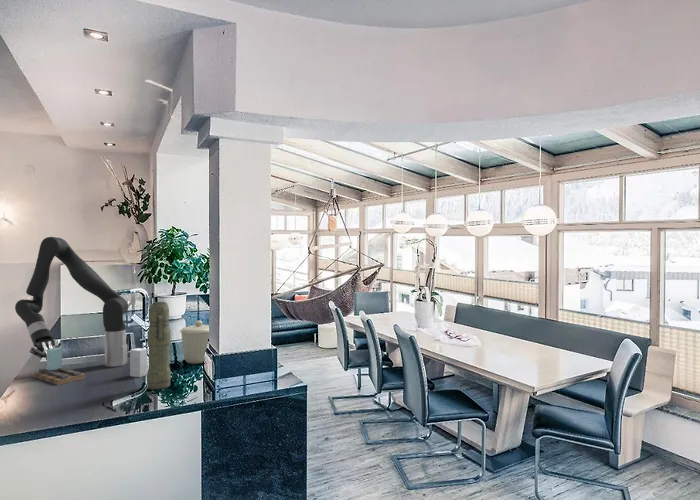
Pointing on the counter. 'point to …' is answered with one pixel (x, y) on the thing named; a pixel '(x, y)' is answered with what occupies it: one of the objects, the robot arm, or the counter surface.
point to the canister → (195, 342)
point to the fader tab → (54, 359)
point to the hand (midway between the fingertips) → (52, 362)
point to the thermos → (159, 346)
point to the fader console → (59, 376)
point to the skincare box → (138, 362)
